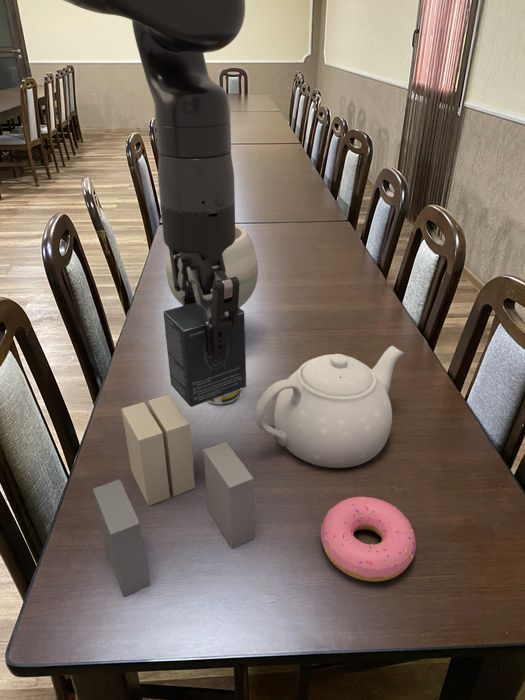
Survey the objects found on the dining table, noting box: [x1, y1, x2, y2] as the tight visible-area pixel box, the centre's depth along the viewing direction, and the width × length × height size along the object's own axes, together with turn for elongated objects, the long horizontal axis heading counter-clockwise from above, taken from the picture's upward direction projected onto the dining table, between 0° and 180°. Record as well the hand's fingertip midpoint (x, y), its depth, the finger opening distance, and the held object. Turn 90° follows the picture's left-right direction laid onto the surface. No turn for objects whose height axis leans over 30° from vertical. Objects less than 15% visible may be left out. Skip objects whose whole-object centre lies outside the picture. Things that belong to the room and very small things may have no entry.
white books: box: [121, 393, 196, 507], centre depth 70 cm, size 6×7×11 cm
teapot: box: [254, 345, 405, 469], centre depth 78 cm, size 19×18×14 cm
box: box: [162, 298, 247, 408], centre depth 64 cm, size 8×6×11 cm
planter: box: [165, 224, 259, 309], centre depth 97 cm, size 16×16×22 cm
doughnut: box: [320, 494, 417, 583], centre depth 62 cm, size 11×11×4 cm
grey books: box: [92, 441, 255, 597], centre depth 61 cm, size 16×7×10 cm, turn 119°
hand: (205, 340), depth 63 cm, fingers closed on box, 5 cm apart
